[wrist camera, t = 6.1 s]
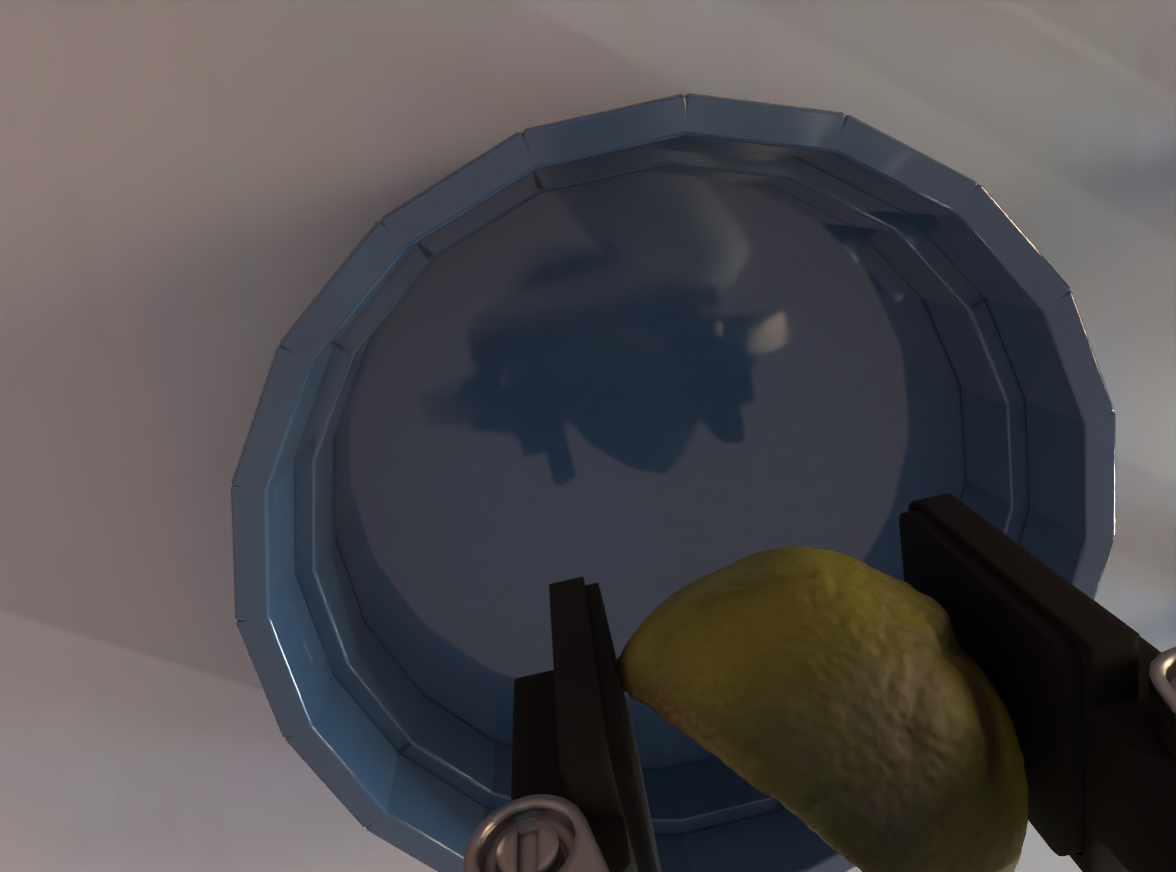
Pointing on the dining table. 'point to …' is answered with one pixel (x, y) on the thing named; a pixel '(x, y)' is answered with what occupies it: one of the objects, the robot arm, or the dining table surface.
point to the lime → (840, 708)
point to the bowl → (636, 436)
